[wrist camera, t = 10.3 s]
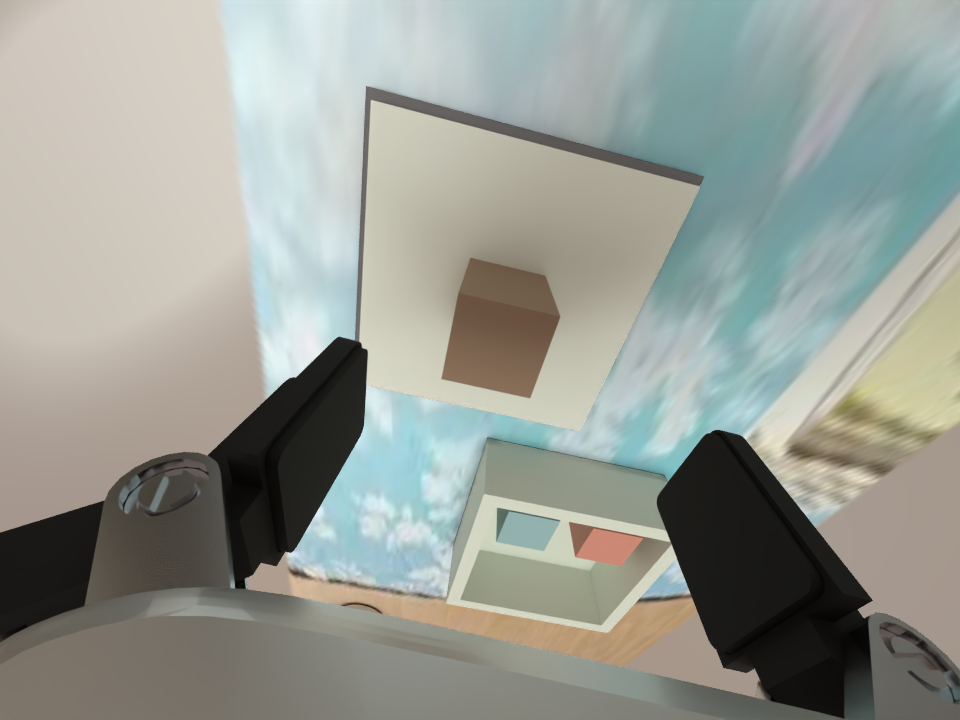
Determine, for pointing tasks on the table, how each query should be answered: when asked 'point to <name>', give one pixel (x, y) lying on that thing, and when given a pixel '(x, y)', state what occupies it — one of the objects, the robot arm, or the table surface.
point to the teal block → (524, 529)
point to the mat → (497, 128)
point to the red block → (602, 544)
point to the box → (557, 538)
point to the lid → (504, 265)
